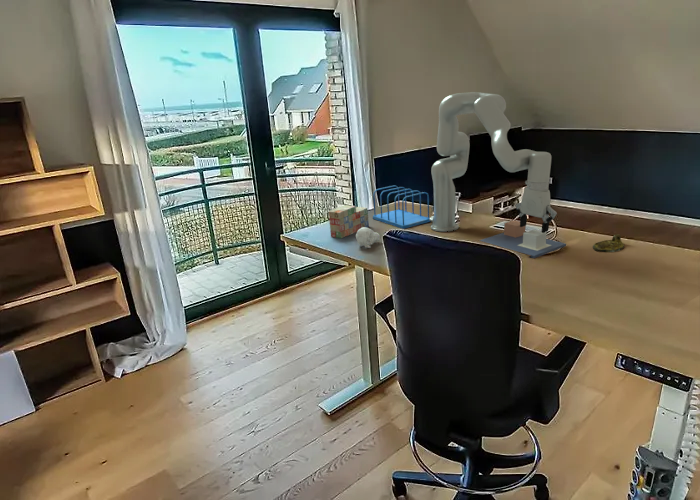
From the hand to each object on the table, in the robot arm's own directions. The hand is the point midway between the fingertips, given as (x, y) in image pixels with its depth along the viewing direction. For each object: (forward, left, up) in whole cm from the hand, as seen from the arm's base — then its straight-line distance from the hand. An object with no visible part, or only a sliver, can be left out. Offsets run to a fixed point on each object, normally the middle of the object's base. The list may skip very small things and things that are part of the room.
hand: (533, 229), depth 183 cm
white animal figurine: (-48, -44, -8) cm, 66 cm away
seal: (+19, +20, -8) cm, 29 cm away
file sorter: (-68, -10, -8) cm, 69 cm away
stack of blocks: (-71, -38, -8) cm, 81 cm away
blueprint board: (-5, 0, -8) cm, 9 cm away
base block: (+1, 0, -6) cm, 6 cm away
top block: (-13, +6, -7) cm, 16 cm away
